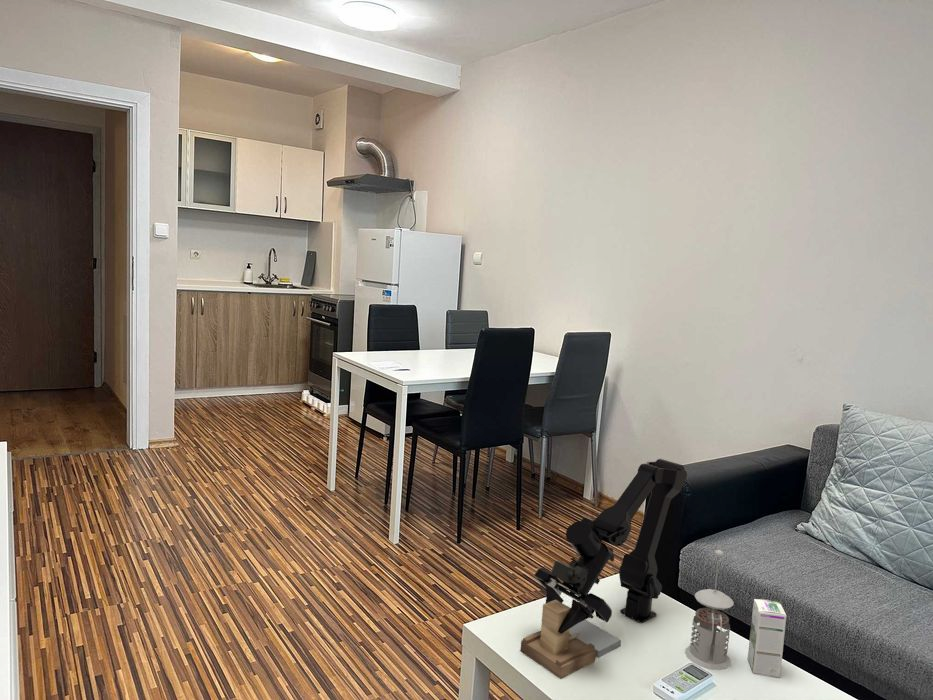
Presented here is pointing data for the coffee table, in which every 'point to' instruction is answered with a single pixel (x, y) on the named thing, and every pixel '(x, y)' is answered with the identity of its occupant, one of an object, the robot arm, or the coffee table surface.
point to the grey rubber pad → (595, 637)
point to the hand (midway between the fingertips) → (551, 627)
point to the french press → (711, 629)
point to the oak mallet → (554, 627)
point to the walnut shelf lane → (559, 655)
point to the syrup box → (766, 637)
